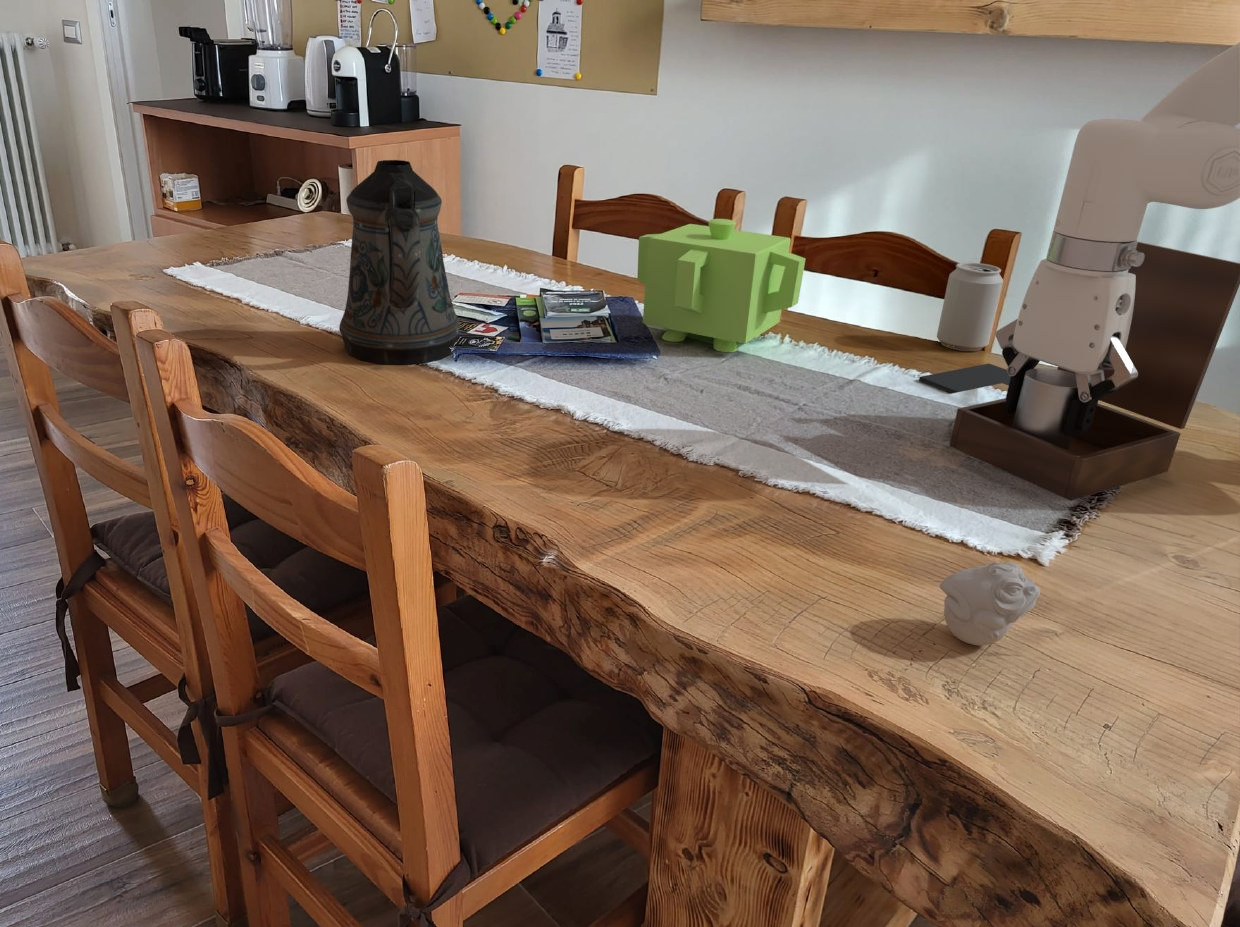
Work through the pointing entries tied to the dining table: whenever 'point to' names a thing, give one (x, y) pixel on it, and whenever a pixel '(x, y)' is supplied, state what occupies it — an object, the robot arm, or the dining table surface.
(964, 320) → the can
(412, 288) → the dark ornate jug
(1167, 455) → the brown shallow square box
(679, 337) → the green square teapot
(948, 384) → the mat
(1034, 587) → the frog figurine
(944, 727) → the dining table surface
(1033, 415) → the steel canister
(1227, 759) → the dining table surface
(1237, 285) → the lid
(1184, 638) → the dining table surface
